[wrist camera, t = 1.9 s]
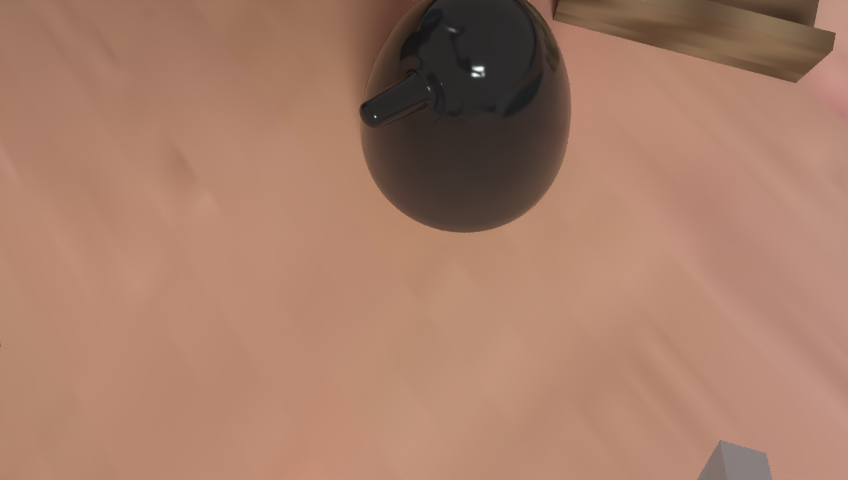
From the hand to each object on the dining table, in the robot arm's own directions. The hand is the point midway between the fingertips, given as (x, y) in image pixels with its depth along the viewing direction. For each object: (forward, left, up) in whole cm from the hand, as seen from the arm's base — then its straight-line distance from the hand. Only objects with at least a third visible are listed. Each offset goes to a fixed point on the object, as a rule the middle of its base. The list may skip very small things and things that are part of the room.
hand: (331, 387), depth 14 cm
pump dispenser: (0, +14, -27) cm, 30 cm away
